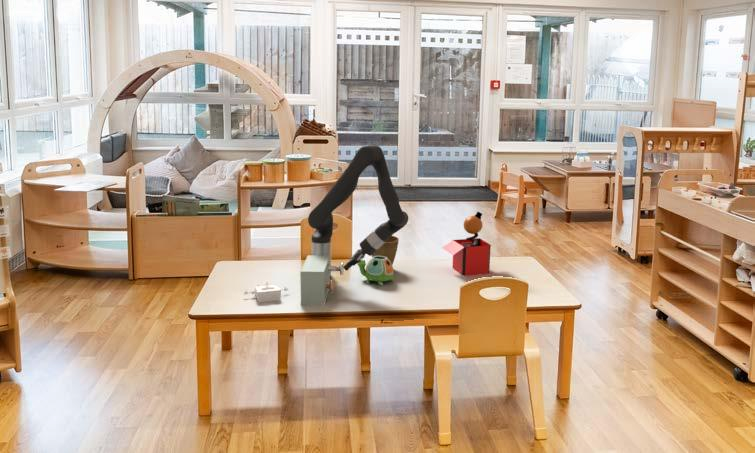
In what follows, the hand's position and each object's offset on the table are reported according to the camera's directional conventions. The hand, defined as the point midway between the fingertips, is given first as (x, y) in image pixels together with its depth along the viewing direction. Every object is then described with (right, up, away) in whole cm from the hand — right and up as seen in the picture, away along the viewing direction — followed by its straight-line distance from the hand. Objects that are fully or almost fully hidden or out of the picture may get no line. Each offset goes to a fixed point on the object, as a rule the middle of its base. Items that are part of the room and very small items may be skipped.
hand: (344, 268), depth 345 cm
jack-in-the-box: (+61, -3, +38) cm, 72 cm away
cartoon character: (-35, -12, -3) cm, 37 cm away
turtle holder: (+14, -7, +19) cm, 25 cm away
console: (-13, -12, -3) cm, 18 cm away
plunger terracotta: (-11, -10, -10) cm, 18 cm away
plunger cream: (-7, -3, +1) cm, 8 cm away
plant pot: (+18, -3, +38) cm, 42 cm away
